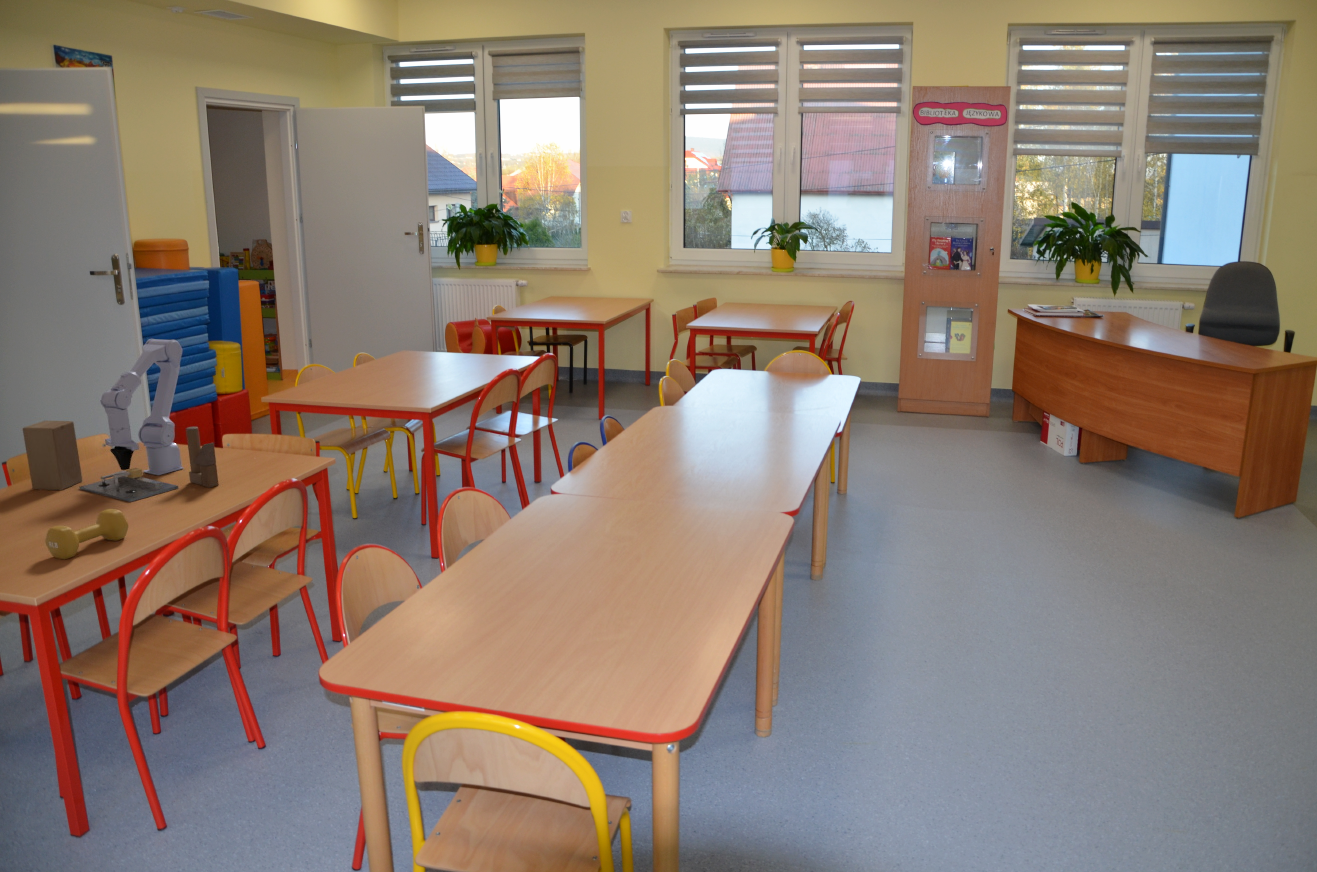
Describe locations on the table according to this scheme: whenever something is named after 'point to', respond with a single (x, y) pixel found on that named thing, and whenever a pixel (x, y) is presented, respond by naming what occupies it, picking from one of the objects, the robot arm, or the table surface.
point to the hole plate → (128, 487)
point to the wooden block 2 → (201, 460)
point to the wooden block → (52, 455)
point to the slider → (129, 474)
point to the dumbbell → (86, 533)
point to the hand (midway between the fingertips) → (125, 469)
